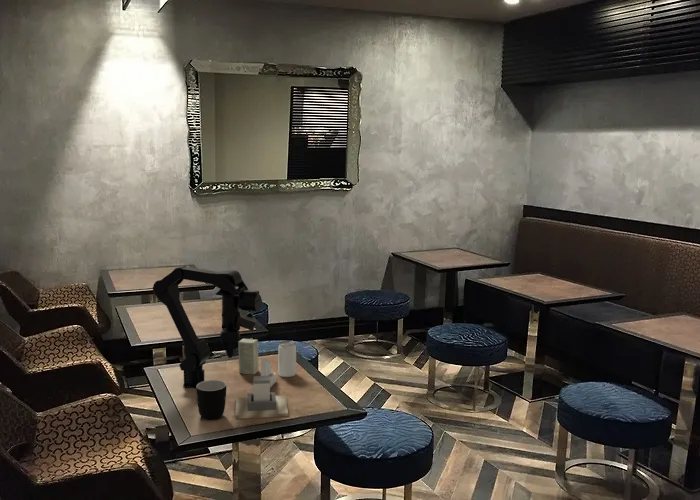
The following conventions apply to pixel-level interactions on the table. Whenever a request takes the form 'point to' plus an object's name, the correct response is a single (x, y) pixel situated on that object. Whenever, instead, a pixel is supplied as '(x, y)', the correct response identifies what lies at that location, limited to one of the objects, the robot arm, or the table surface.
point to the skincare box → (248, 356)
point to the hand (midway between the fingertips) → (230, 353)
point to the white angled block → (267, 371)
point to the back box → (261, 403)
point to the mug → (211, 399)
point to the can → (287, 359)
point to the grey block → (261, 388)
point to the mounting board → (243, 413)
